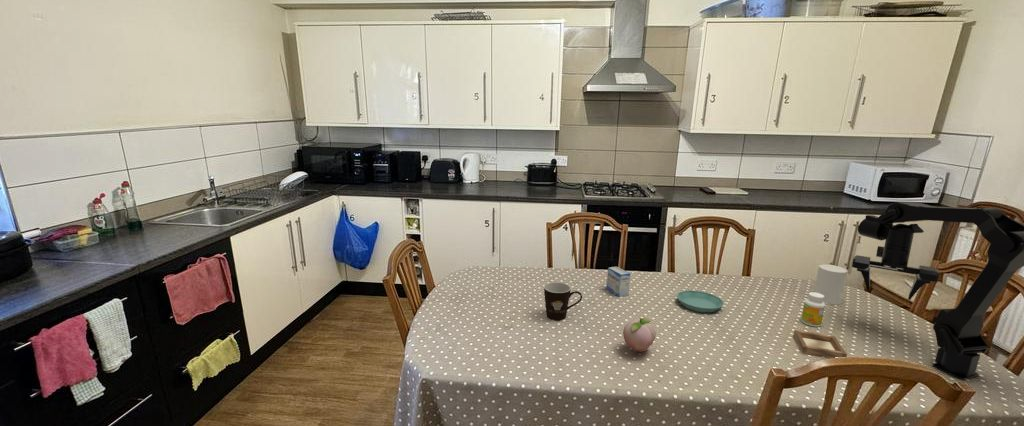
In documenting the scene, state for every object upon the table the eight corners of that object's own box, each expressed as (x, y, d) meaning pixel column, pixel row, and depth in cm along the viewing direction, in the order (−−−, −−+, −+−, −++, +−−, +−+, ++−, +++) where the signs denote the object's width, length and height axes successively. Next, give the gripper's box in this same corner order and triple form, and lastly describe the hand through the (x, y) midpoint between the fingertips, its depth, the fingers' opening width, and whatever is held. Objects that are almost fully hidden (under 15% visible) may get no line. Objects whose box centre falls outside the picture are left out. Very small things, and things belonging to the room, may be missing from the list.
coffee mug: (538, 318, 135) (539, 289, 133) (549, 308, 143) (550, 280, 141) (573, 327, 130) (574, 297, 128) (582, 315, 138) (583, 287, 135)
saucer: (732, 311, 142) (733, 304, 142) (699, 318, 137) (699, 311, 136) (699, 294, 156) (699, 287, 155) (667, 300, 150) (667, 293, 150)
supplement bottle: (796, 320, 136) (802, 292, 134) (808, 317, 138) (813, 290, 136) (813, 328, 131) (819, 299, 129) (825, 325, 133) (831, 296, 131)
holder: (833, 342, 123) (834, 336, 123) (845, 360, 114) (847, 354, 114) (793, 336, 127) (794, 329, 126) (802, 353, 117) (803, 346, 117)
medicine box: (605, 289, 159) (607, 267, 157) (615, 287, 161) (617, 265, 159) (619, 297, 152) (621, 274, 150) (629, 295, 154) (631, 272, 152)
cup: (845, 305, 147) (852, 273, 144) (819, 303, 149) (825, 271, 146) (833, 296, 155) (839, 265, 152) (808, 294, 157) (814, 263, 154)
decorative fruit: (630, 339, 124) (632, 307, 121) (657, 349, 119) (661, 316, 116) (615, 352, 117) (618, 319, 114) (644, 363, 112) (647, 329, 109)
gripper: (941, 245, 123) (930, 295, 126) (858, 234, 135) (850, 280, 138) (944, 253, 114) (932, 307, 118) (856, 240, 127) (847, 290, 130)
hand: (888, 295), depth 126 cm, fingers open, 9 cm apart
